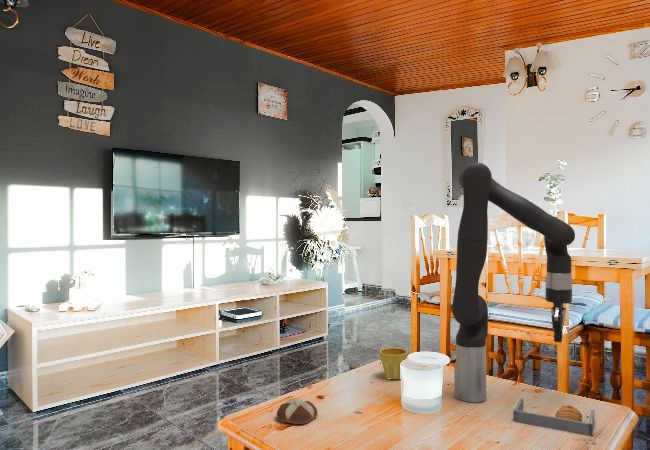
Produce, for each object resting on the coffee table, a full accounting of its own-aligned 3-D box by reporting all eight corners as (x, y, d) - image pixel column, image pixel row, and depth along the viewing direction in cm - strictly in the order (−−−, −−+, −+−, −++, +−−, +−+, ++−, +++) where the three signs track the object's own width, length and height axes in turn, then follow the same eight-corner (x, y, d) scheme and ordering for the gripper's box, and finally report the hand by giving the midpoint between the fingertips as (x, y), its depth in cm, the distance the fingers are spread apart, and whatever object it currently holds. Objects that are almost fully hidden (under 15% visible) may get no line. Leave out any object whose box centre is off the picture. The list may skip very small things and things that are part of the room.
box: (513, 421, 138) (513, 410, 138) (520, 408, 148) (520, 398, 148) (592, 436, 128) (592, 424, 128) (594, 420, 137) (594, 410, 137)
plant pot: (374, 378, 178) (374, 351, 178) (389, 371, 186) (389, 345, 186) (398, 384, 171) (398, 356, 171) (413, 376, 179) (413, 350, 179)
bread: (293, 408, 151) (293, 392, 151) (323, 416, 144) (322, 399, 144) (269, 420, 142) (268, 403, 142) (299, 430, 135) (298, 412, 135)
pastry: (581, 432, 131) (580, 418, 131) (553, 427, 134) (553, 413, 134) (582, 419, 139) (582, 406, 139) (556, 415, 142) (556, 402, 142)
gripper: (548, 283, 160) (547, 335, 161) (542, 288, 149) (542, 344, 149) (573, 285, 156) (573, 338, 157) (570, 290, 145) (569, 348, 145)
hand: (558, 341), depth 153 cm, fingers closed
